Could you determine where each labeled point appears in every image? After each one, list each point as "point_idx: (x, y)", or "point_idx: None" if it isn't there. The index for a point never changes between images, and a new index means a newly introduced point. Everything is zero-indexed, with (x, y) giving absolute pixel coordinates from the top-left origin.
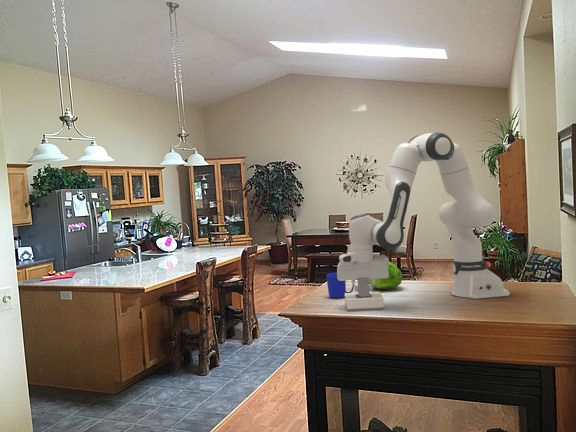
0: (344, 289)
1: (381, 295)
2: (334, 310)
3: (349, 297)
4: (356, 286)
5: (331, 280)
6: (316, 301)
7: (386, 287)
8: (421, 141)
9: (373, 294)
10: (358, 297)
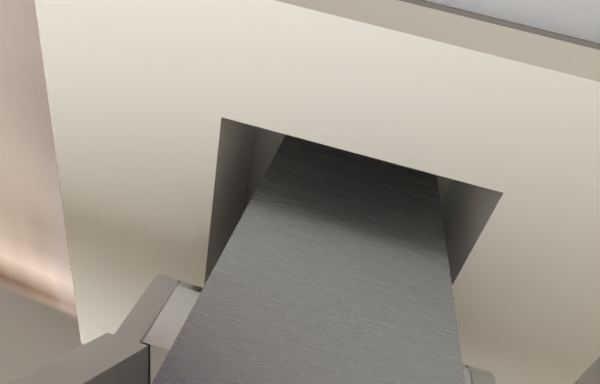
0: None
1: (574, 377)
2: (31, 169)
3: (113, 266)
4: (155, 370)
5: None
6: None
7: None
8: None
9: (510, 276)
10: (276, 156)
